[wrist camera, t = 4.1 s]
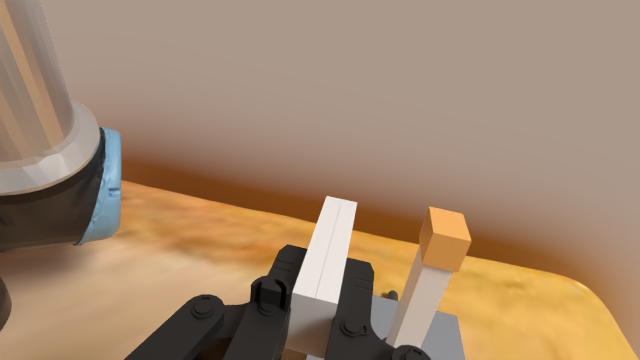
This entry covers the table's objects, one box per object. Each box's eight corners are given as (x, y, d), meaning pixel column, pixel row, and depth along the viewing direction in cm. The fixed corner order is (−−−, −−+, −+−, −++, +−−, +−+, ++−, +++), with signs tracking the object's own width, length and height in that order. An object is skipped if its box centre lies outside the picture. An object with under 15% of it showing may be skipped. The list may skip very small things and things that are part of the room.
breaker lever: (404, 400, 28) (474, 244, 20) (374, 391, 28) (432, 235, 21) (403, 359, 31) (463, 211, 23) (376, 351, 31) (427, 203, 24)
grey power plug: (449, 605, 26) (504, 552, 21) (264, 543, 27) (275, 481, 22) (422, 303, 51) (444, 248, 46) (328, 279, 53) (339, 223, 48)
